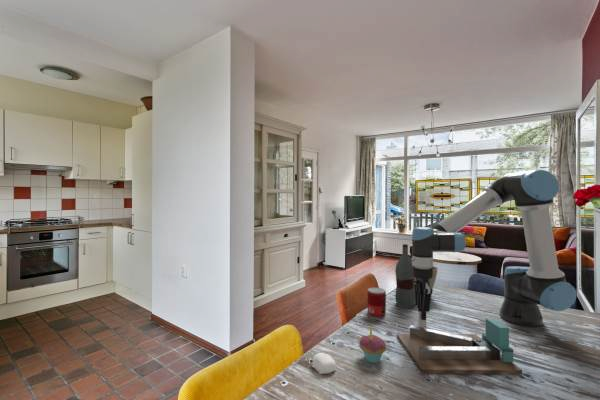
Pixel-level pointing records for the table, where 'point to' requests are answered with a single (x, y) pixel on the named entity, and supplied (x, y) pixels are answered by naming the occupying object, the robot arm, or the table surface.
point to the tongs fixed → (461, 352)
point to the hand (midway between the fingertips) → (422, 326)
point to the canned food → (377, 302)
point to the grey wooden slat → (440, 336)
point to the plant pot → (432, 280)
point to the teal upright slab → (499, 338)
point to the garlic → (323, 363)
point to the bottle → (404, 281)
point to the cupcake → (372, 347)
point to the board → (454, 365)
